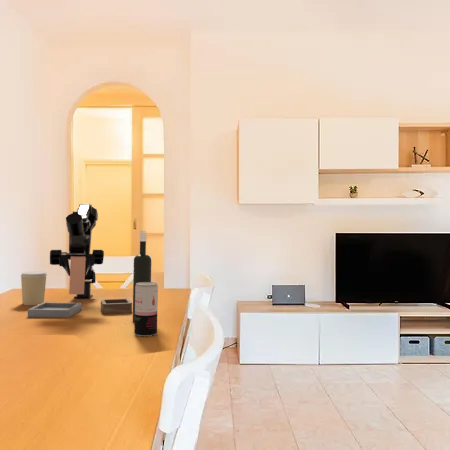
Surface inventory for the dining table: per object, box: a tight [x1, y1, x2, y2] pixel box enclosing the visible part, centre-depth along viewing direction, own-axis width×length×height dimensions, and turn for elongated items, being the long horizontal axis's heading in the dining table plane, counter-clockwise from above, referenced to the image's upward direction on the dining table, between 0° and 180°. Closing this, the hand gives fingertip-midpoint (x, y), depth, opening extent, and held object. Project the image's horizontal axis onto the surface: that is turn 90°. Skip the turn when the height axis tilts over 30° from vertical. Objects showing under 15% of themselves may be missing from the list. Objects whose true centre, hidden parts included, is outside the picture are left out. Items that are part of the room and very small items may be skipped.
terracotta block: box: [68, 256, 86, 295], centre depth 163 cm, size 5×5×13 cm
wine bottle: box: [132, 230, 152, 324], centre depth 151 cm, size 6×6×30 cm
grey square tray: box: [27, 301, 83, 319], centre depth 161 cm, size 14×14×2 cm
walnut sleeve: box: [100, 298, 133, 315], centre depth 167 cm, size 10×10×4 cm
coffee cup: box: [20, 271, 48, 306], centre depth 179 cm, size 9×9×12 cm
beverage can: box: [133, 281, 159, 337], centre depth 134 cm, size 7×7×15 cm
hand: (77, 275), depth 162 cm, fingers closed on terracotta block, 5 cm apart
